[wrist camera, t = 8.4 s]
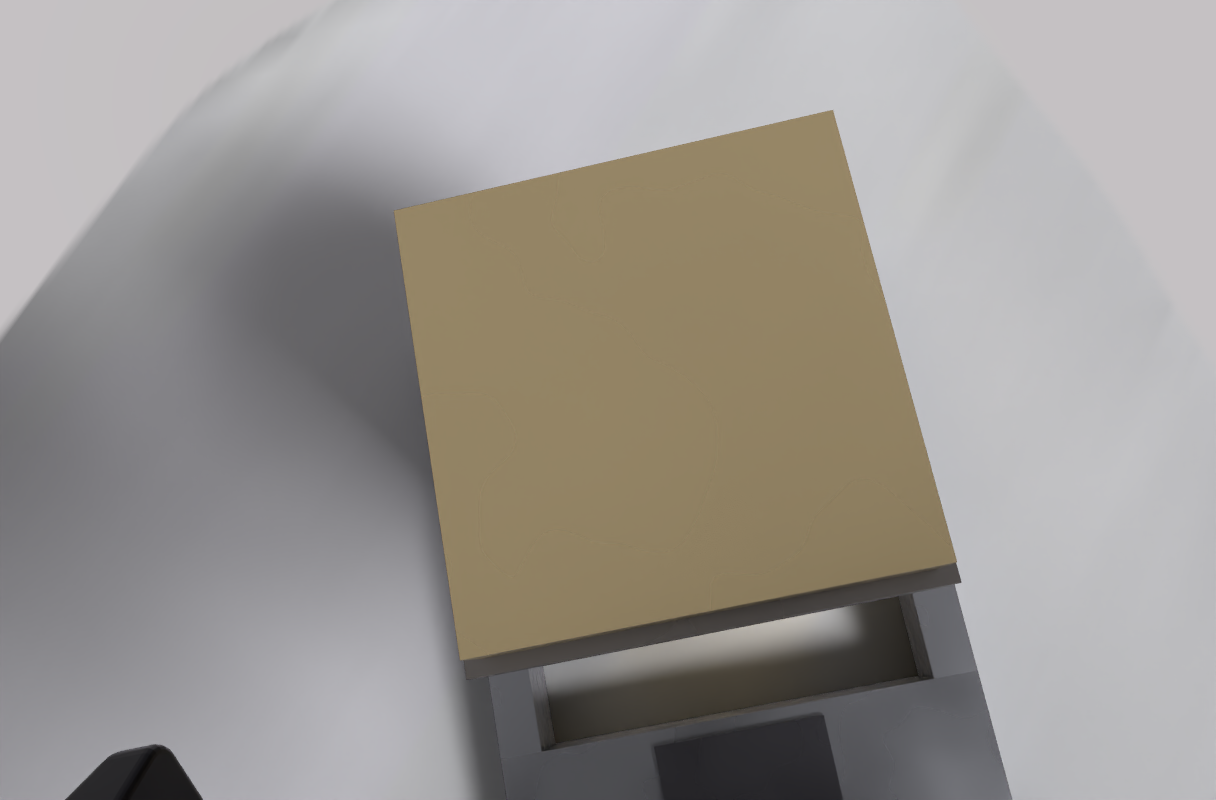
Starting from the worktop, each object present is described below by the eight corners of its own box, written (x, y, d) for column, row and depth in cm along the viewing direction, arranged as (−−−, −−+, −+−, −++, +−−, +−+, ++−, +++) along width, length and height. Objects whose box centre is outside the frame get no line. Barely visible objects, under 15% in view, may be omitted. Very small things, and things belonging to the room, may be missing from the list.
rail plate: (1010, 867, 18) (1037, 889, 16) (547, 947, 19) (532, 975, 17) (848, 252, 21) (857, 221, 19) (453, 338, 22) (432, 314, 20)
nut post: (830, 615, 19) (981, 577, 8) (611, 658, 20) (444, 683, 8) (779, 402, 20) (845, 91, 9) (572, 446, 21) (375, 199, 9)
